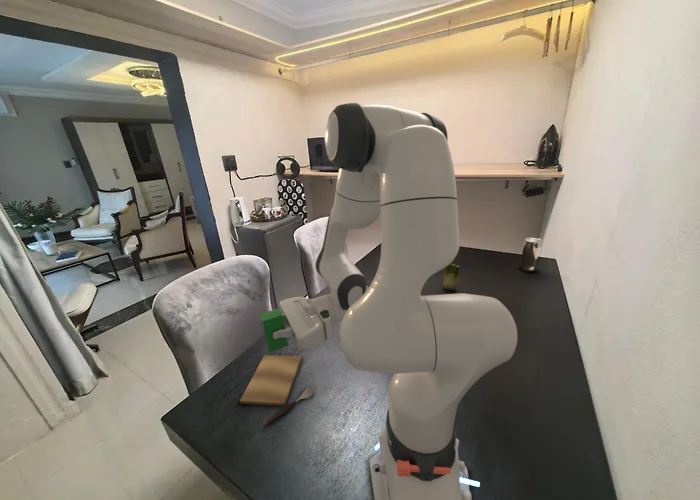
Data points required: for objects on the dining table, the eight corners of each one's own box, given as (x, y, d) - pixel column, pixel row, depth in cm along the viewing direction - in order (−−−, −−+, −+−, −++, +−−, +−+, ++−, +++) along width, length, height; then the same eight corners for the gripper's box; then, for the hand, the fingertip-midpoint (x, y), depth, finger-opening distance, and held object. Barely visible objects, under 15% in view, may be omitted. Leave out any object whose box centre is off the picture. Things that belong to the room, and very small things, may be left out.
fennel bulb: (458, 290, 112) (461, 265, 107) (449, 293, 110) (451, 267, 106) (449, 284, 117) (451, 260, 113) (440, 287, 115) (442, 262, 111)
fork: (261, 425, 63) (259, 419, 62) (314, 383, 73) (313, 377, 72) (266, 432, 61) (264, 426, 60) (320, 388, 71) (319, 383, 70)
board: (284, 405, 67) (284, 403, 66) (240, 403, 68) (239, 400, 68) (301, 358, 82) (301, 356, 81) (264, 357, 83) (264, 355, 83)
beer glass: (515, 268, 128) (521, 239, 122) (524, 264, 130) (530, 236, 125) (529, 273, 122) (536, 243, 116) (539, 270, 124) (546, 240, 119)
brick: (269, 352, 69) (262, 321, 65) (267, 344, 72) (260, 314, 68) (288, 345, 71) (282, 314, 67) (285, 337, 74) (279, 308, 70)
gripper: (306, 287, 82) (261, 301, 76) (333, 322, 65) (277, 343, 59) (308, 304, 85) (265, 319, 79) (335, 342, 67) (282, 364, 62)
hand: (270, 329), depth 69 cm, fingers closed on brick, 3 cm apart
